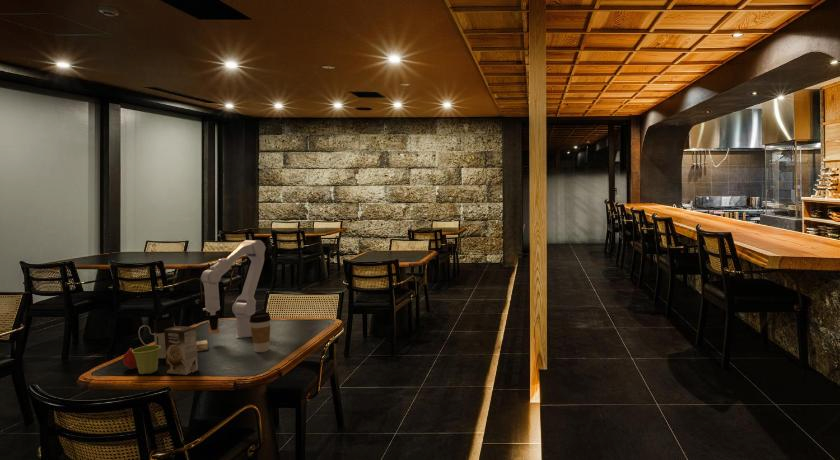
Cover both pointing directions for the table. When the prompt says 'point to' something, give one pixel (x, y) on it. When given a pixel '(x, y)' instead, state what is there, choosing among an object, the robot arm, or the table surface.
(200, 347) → the birch base
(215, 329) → the robot arm
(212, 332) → the painted block
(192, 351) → the coffee box
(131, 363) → the onion
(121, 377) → the table surface
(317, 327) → the table surface
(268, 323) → the coffee cup
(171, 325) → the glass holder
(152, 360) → the plant pot
